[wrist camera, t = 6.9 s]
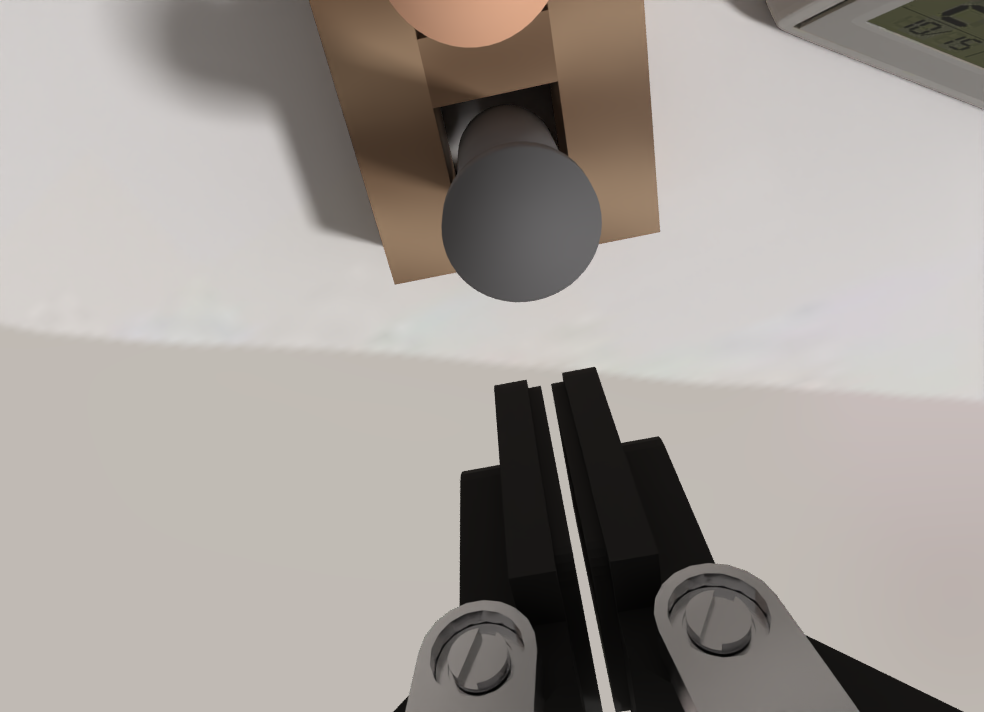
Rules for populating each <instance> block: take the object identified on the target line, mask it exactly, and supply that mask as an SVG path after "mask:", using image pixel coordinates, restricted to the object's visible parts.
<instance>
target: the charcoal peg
mask: <svg viewBox="0 0 984 712" xmlns="http://www.w3.org/2000/svg"><path fill="white" fill-rule="evenodd" d="M441 228H442V240H443V245H444V248H445V252H446V255H447V257H448V259H449V261H450V263H451V265H452V266H453V268H454V269H455V271H456V272H457V273H458V275H459V276H460V277H461V278H462V279H463V280H464V281H465V282H466V283H467V284H469V285H470V286H471V287H473V288H474V289H476V290H477V291H479V292H481V293H483V294H485V295H487V296H489V297H492V298H495V299H499V300H503V301H510V302H528V301H535V300H539V299H543V298H546V297H549V296H551V295H554V294H556V293H558V292H560V291H562V290H563V289H565V288H566V287H568V286H569V285H571V284H572V283H573V282H574V281H575V280H576V279H577V278H578V277H579V276H580V275H581V274H582V273H583V272H584V271H585V269H586V268H587V267H588V265H589V264H590V262H591V260H592V259H593V257H594V255H595V253H596V250H597V247H598V244H599V241H600V236H601V228H602V216H601V209H600V204H599V201H598V198H597V195H596V193H595V191H594V189H593V187H592V185H591V183H590V181H589V179H588V178H587V176H586V175H585V173H584V172H583V170H582V169H581V168H580V167H579V166H578V165H577V164H576V162H575V161H573V160H572V159H571V158H570V157H568V156H567V155H566V154H564V153H562V152H561V151H559V150H558V148H557V146H556V144H555V142H554V140H553V138H552V136H551V134H550V132H549V130H548V128H547V126H546V125H545V124H544V122H543V121H542V120H541V119H540V118H539V117H538V116H537V115H536V114H534V113H533V112H531V111H529V110H527V109H525V108H523V107H519V106H515V105H499V106H495V107H491V108H489V109H487V110H484V111H483V112H481V113H480V114H478V115H477V116H476V117H475V118H474V119H473V120H472V121H471V122H470V123H469V124H468V126H467V127H466V129H465V130H464V132H463V134H462V137H461V140H460V144H459V150H458V170H457V175H456V177H455V178H454V180H453V181H452V183H451V185H450V187H449V189H448V192H447V195H446V197H445V201H444V206H443V214H442V225H441Z"/></svg>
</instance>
